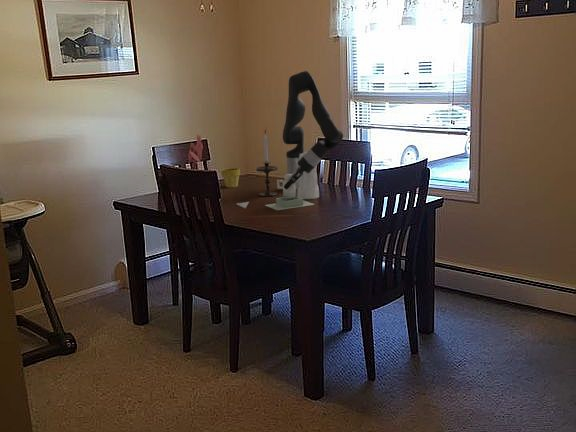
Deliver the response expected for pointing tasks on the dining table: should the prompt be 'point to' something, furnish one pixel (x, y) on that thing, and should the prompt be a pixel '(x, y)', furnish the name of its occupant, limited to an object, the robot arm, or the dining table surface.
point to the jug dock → (288, 203)
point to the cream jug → (291, 190)
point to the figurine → (196, 148)
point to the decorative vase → (308, 183)
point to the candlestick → (266, 170)
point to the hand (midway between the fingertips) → (285, 186)
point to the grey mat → (243, 204)
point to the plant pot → (231, 177)
